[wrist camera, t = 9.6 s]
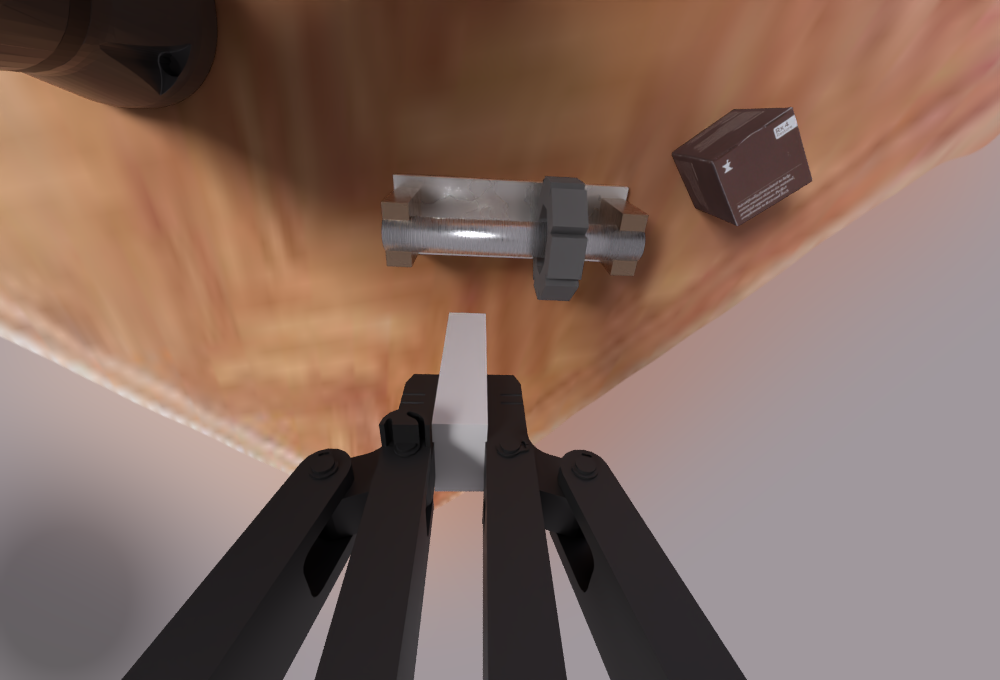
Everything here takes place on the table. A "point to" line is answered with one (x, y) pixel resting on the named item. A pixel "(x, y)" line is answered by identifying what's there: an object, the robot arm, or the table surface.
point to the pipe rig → (501, 221)
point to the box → (744, 163)
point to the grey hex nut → (561, 238)
